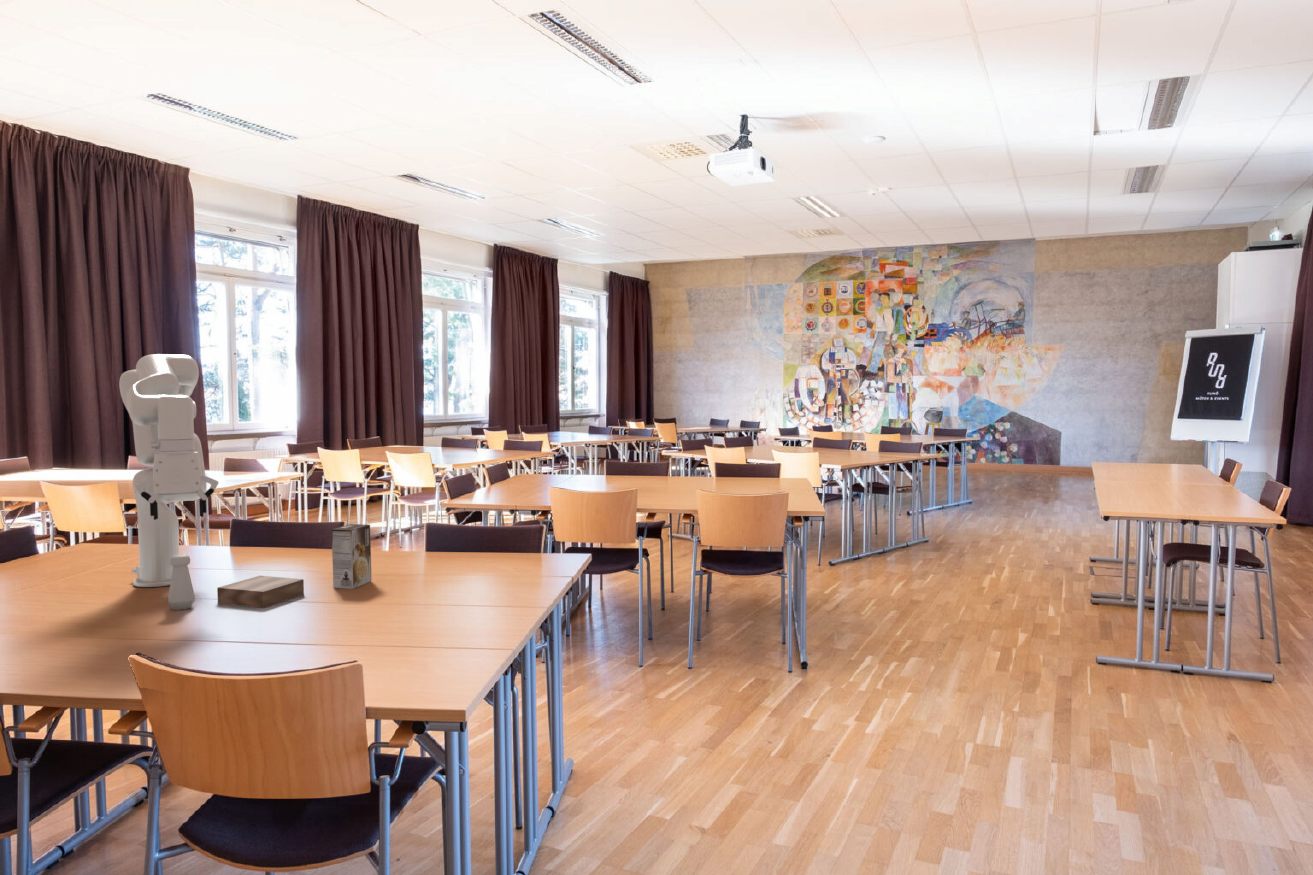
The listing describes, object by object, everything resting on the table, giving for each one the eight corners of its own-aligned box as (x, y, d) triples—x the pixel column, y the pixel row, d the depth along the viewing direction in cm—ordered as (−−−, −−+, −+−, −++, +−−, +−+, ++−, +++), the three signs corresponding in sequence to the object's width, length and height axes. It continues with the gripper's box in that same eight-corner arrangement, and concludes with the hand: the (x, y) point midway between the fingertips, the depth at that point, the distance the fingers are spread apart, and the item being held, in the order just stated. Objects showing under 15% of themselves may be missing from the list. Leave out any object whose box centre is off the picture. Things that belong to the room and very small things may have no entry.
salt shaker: (175, 605, 205) (173, 552, 204) (199, 604, 205) (197, 552, 204) (163, 611, 199) (161, 557, 198) (188, 610, 199) (186, 557, 199)
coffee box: (351, 580, 231) (350, 523, 230) (372, 581, 230) (371, 524, 229) (332, 588, 222) (330, 528, 222) (353, 589, 221) (352, 529, 220)
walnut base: (217, 603, 206) (217, 587, 206) (260, 590, 220) (259, 575, 219) (263, 607, 202) (263, 591, 202) (303, 594, 215) (303, 579, 215)
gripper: (132, 448, 192) (135, 522, 193) (217, 446, 200) (219, 516, 201) (135, 447, 199) (138, 518, 200) (217, 445, 207) (219, 513, 208)
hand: (179, 517), depth 200 cm, fingers open, 9 cm apart
